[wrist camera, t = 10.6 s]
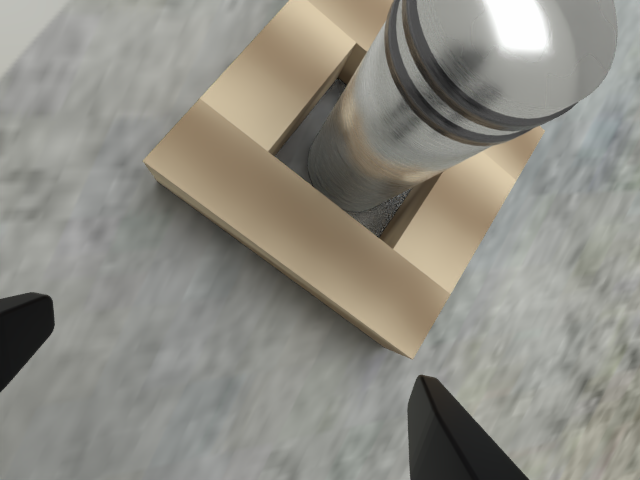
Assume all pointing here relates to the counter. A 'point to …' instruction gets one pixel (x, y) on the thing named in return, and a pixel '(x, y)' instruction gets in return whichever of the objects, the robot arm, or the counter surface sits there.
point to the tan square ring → (311, 205)
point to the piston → (456, 89)
